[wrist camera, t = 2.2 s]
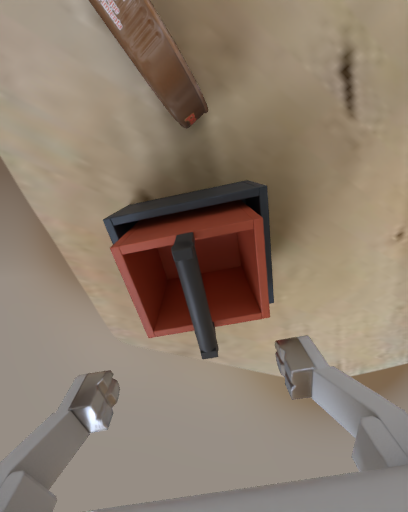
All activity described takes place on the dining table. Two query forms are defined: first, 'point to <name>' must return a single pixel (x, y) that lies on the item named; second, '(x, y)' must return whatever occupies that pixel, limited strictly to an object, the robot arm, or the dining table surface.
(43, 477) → the robot arm
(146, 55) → the tin
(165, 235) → the terracotta bin
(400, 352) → the dining table surface
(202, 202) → the slate bin
